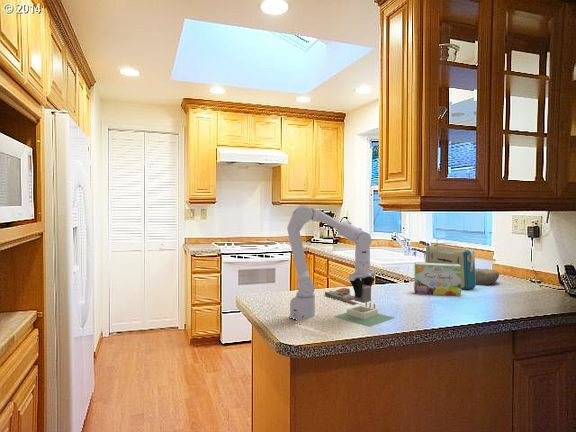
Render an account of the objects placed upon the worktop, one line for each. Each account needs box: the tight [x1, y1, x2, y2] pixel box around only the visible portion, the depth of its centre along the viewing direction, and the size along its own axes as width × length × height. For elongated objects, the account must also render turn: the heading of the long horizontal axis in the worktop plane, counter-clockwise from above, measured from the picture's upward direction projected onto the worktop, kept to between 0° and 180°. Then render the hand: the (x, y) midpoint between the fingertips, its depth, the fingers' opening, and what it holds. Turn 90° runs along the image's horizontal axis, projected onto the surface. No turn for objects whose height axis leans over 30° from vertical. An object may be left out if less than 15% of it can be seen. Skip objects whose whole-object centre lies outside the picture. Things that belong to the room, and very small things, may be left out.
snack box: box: [413, 261, 462, 297], centre depth 198 cm, size 21×6×15 cm, turn 76°
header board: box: [333, 312, 395, 328], centre depth 156 cm, size 16×17×1 cm
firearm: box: [324, 287, 365, 306], centre depth 188 cm, size 29×2×15 cm
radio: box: [424, 237, 477, 291], centre depth 219 cm, size 30×8×25 cm, turn 25°
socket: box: [346, 304, 379, 319], centre depth 159 cm, size 8×8×2 cm
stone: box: [475, 268, 500, 286], centre depth 223 cm, size 14×19×8 cm
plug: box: [354, 284, 372, 304], centre depth 158 cm, size 4×4×6 cm
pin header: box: [364, 302, 376, 309], centre depth 162 cm, size 2×6×4 cm, turn 42°
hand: (362, 296), depth 158 cm, fingers closed on plug, 4 cm apart
